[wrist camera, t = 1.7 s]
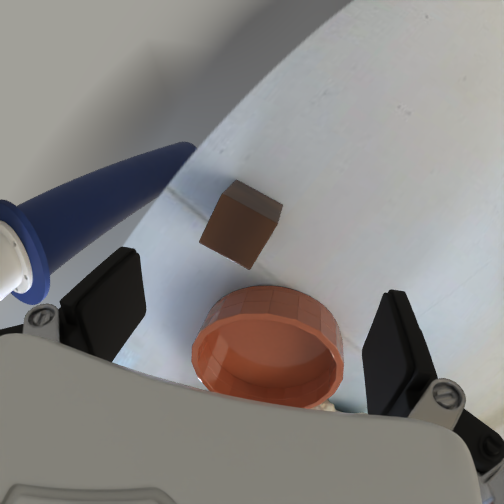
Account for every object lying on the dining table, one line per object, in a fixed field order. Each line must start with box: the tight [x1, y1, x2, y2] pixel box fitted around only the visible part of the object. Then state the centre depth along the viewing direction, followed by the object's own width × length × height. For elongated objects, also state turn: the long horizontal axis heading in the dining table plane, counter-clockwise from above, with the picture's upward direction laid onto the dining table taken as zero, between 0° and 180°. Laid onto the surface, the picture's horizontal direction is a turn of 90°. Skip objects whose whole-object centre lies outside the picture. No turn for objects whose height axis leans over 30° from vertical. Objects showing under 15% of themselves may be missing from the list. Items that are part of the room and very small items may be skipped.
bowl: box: [191, 286, 344, 409], centre depth 30 cm, size 15×15×4 cm
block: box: [199, 180, 283, 270], centre depth 24 cm, size 4×4×4 cm
